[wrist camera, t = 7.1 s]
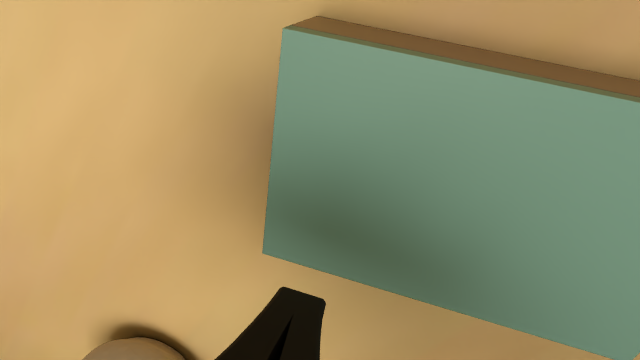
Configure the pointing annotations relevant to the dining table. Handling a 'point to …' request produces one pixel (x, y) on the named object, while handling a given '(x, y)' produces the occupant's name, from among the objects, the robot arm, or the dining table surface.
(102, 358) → the teacup
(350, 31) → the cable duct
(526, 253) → the lid
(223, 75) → the dining table surface
